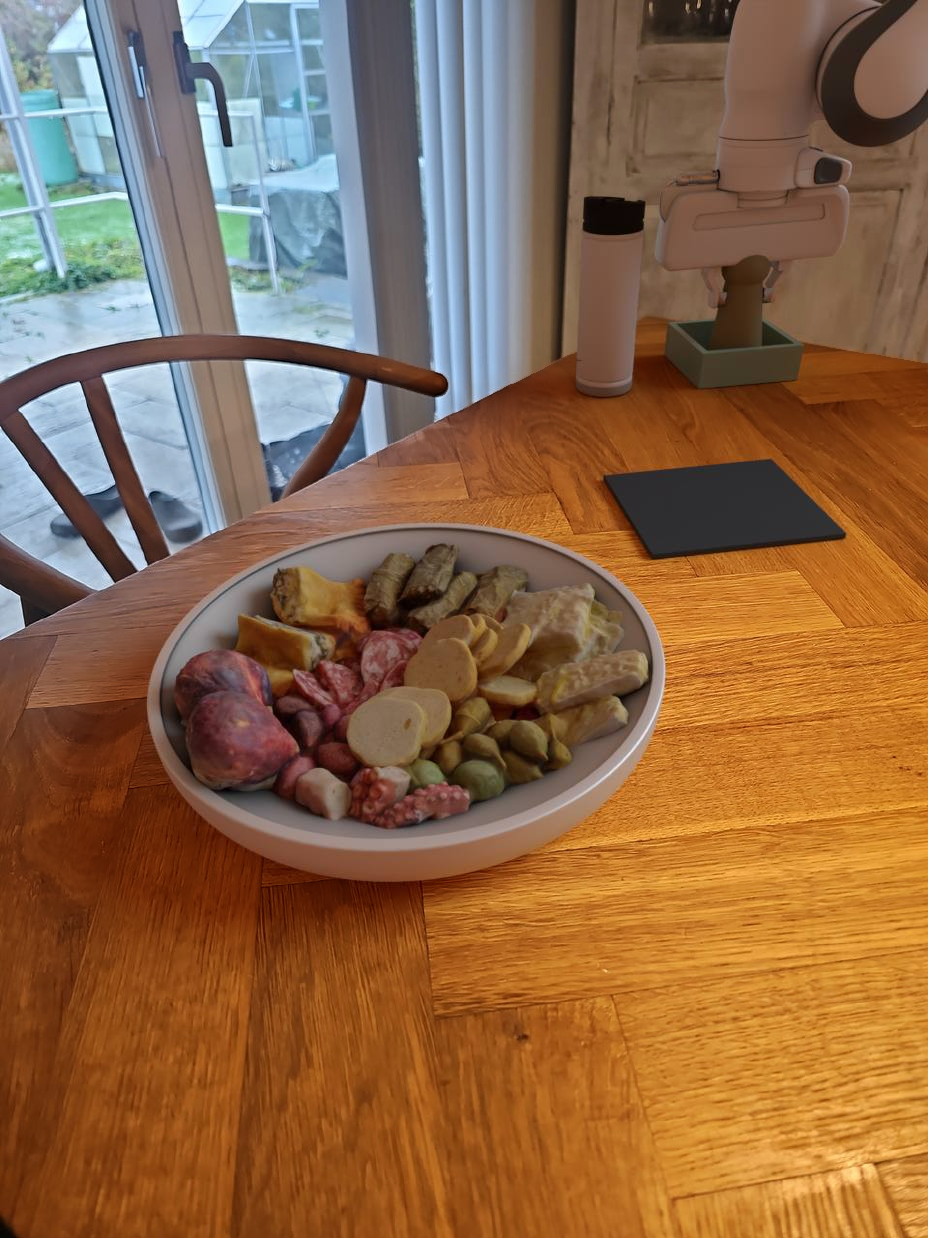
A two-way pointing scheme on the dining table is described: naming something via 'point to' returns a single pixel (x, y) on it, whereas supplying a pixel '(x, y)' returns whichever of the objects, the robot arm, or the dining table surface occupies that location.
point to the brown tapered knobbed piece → (741, 305)
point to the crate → (731, 356)
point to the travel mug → (608, 294)
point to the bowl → (407, 700)
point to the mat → (719, 509)
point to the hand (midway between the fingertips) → (741, 304)
